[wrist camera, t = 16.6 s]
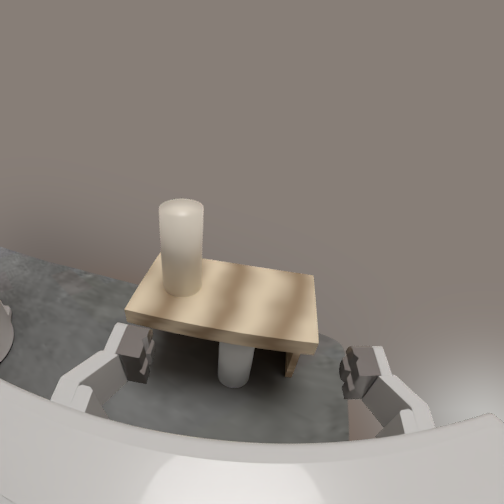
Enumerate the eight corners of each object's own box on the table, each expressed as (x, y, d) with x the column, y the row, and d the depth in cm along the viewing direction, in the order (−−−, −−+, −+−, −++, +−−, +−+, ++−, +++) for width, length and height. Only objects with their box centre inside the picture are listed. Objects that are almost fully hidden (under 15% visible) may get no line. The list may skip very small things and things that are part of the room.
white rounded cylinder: (158, 292, 34) (151, 214, 28) (170, 270, 37) (168, 196, 32) (196, 300, 33) (196, 220, 28) (205, 276, 37) (208, 201, 32)
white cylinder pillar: (215, 385, 40) (216, 341, 34) (220, 360, 44) (223, 314, 38) (247, 390, 40) (255, 347, 34) (250, 365, 44) (259, 320, 38)
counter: (143, 381, 38) (124, 309, 31) (167, 324, 48) (160, 251, 41) (290, 408, 38) (318, 343, 30) (292, 345, 48) (313, 275, 40)
